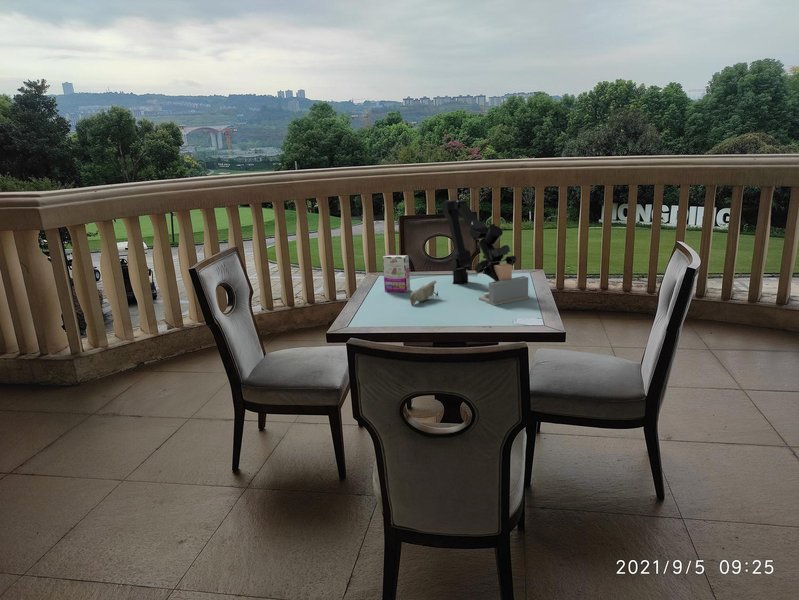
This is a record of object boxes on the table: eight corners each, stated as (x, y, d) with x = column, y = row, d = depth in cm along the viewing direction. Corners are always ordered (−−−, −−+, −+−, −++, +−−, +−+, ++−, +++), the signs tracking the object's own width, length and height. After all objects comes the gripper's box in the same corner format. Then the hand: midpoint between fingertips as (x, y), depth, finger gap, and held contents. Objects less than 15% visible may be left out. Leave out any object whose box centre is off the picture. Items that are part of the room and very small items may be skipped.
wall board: (478, 299, 230) (478, 279, 228) (512, 292, 238) (512, 272, 235) (494, 305, 221) (494, 284, 218) (529, 298, 228) (529, 277, 226)
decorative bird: (406, 304, 229) (405, 287, 227) (431, 295, 240) (430, 279, 238) (416, 306, 225) (415, 289, 223) (440, 297, 236) (440, 281, 234)
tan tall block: (494, 295, 230) (494, 261, 226) (505, 292, 233) (505, 259, 228) (499, 297, 227) (500, 263, 222) (511, 294, 229) (511, 261, 225)
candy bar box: (410, 289, 250) (409, 255, 245) (406, 292, 246) (405, 257, 241) (388, 288, 254) (386, 254, 249) (384, 291, 250) (382, 256, 245)
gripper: (478, 242, 222) (494, 273, 216) (515, 236, 230) (531, 266, 224) (468, 257, 231) (483, 288, 225) (503, 251, 239) (519, 281, 233)
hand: (504, 280), depth 227 cm, fingers closed on tan tall block, 6 cm apart
